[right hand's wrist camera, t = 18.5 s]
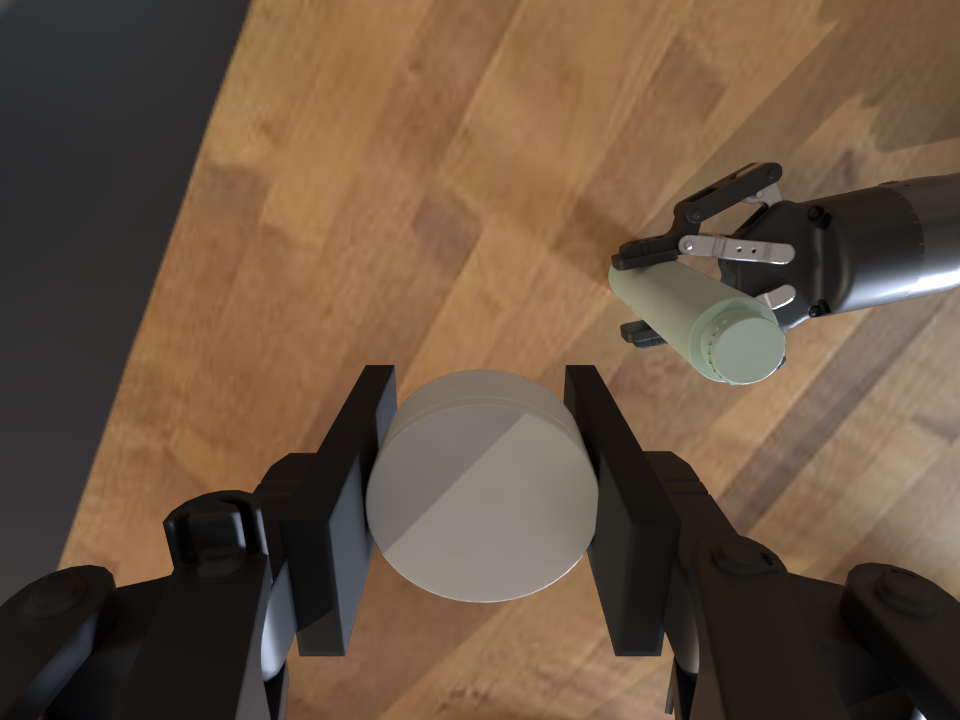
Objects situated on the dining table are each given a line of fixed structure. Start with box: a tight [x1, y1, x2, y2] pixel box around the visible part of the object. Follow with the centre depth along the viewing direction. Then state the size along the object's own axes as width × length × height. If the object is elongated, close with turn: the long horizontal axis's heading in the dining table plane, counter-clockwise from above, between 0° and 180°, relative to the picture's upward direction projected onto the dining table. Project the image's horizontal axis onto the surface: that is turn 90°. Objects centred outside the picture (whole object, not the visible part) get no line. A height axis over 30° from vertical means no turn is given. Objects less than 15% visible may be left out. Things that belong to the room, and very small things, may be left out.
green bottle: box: [608, 253, 785, 386], centre depth 32 cm, size 4×4×18 cm
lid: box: [365, 369, 599, 602], centre depth 11 cm, size 4×5×2 cm
